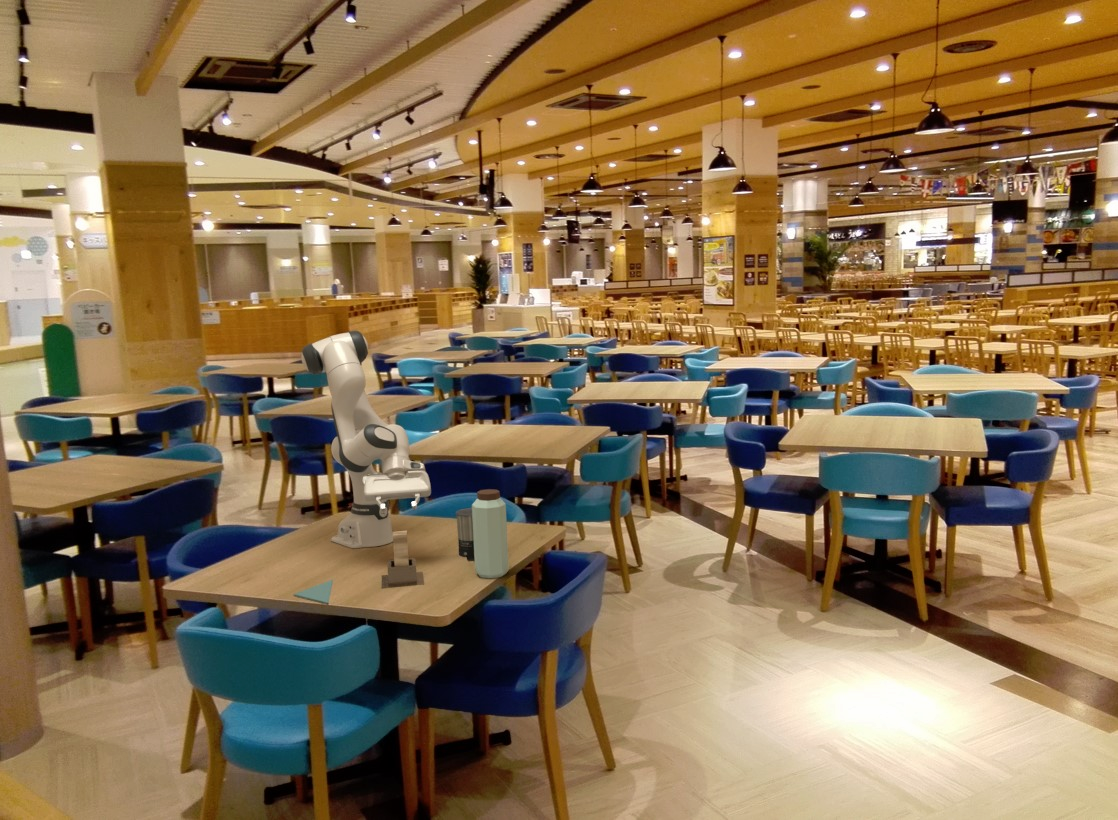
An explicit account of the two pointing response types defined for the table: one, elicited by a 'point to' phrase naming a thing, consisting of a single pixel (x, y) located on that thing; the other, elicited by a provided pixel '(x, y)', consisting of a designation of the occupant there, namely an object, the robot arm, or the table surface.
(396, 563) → the maple bar
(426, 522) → the table surface
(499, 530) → the water bottle
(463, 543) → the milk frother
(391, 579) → the tan hollow square block
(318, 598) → the teal mat
